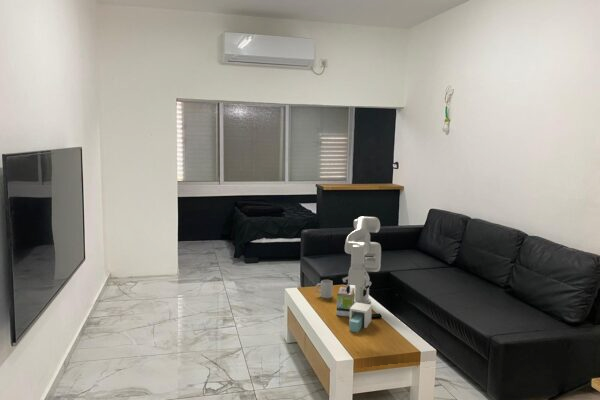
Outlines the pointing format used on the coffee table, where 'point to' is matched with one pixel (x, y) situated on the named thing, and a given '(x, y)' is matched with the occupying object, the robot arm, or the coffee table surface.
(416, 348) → the coffee table surface
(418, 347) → the coffee table surface
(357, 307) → the white arch block
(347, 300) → the tea box
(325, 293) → the mug
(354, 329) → the pale blue rectangular block
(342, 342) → the coffee table surface
